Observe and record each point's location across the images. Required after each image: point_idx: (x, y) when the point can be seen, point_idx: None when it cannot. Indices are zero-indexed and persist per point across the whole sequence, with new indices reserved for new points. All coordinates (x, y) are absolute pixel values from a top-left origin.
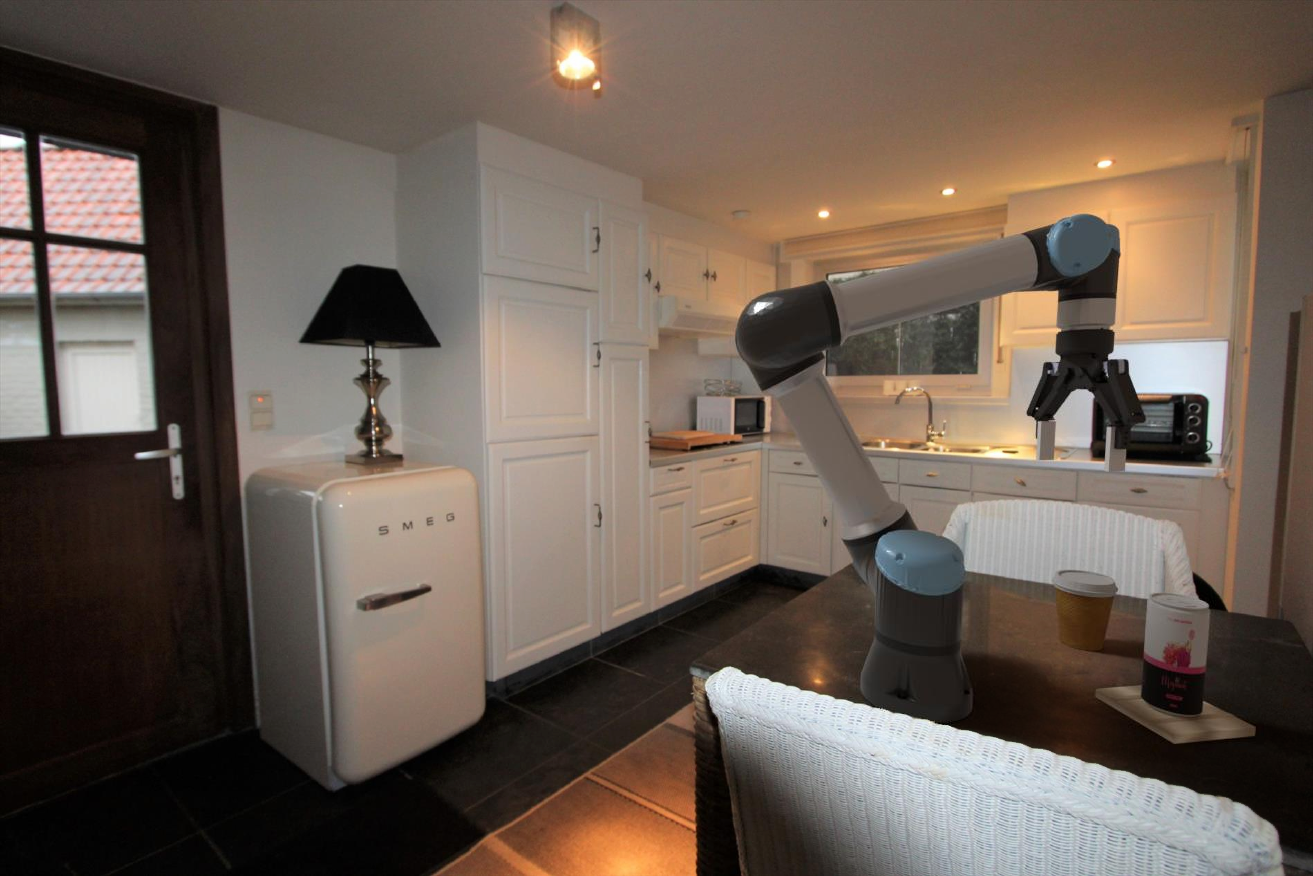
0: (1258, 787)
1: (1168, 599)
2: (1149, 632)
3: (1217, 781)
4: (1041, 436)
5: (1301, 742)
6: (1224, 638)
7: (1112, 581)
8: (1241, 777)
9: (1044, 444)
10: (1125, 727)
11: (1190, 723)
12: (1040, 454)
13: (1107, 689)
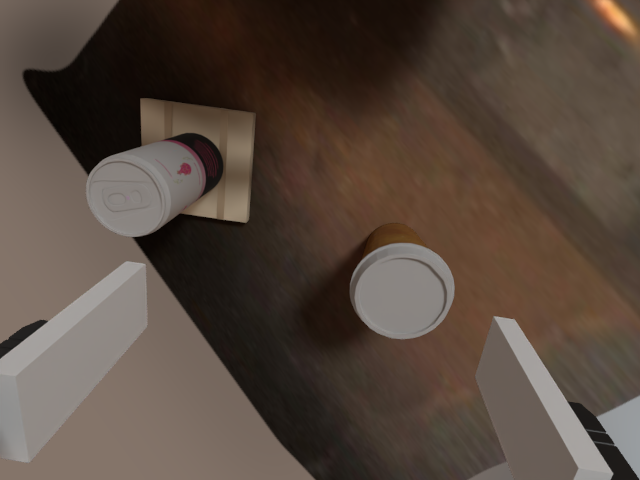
0: (67, 100)
1: (141, 196)
2: (162, 149)
3: (79, 67)
4: (533, 395)
5: (132, 237)
6: (344, 427)
7: (365, 318)
8: (83, 102)
9: (510, 381)
10: (185, 76)
11: None
12: (500, 334)
13: (248, 127)
